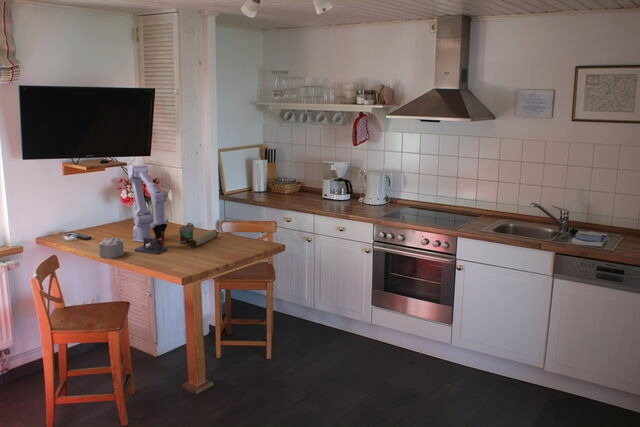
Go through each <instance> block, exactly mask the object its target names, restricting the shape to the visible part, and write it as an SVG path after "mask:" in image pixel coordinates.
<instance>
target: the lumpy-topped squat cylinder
mask: <svg viewBox="0 0 640 427" xmlns="http://www.w3.org/2000/svg"><path fill="white" fill-rule="evenodd" d="M98 253H99V254H98V255H99V258H106V259H115V258H119V257H121V256H122V255H124V253H125V251H124V240H123V239H122V238H120V237H111V238H107V237H105V238H104V239H103V240H102V241H100V242H99V243H98Z"/></svg>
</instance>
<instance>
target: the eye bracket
mask: <svg viewBox="0 0 640 427" xmlns="http://www.w3.org/2000/svg"><path fill="white" fill-rule="evenodd" d="M143 241H144V242H143V245H141V246H138V247H135V248H134V252H136V253H142V254H150V255H158V254H161V253H163V252H165V251H168V247H167V246H158V239H156V238H155V237H154V238H153V237H151V238H148V237H145V238H143ZM149 243H152V246H150V247H148V248H147V247H146V245H147V244H149Z"/></svg>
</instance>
